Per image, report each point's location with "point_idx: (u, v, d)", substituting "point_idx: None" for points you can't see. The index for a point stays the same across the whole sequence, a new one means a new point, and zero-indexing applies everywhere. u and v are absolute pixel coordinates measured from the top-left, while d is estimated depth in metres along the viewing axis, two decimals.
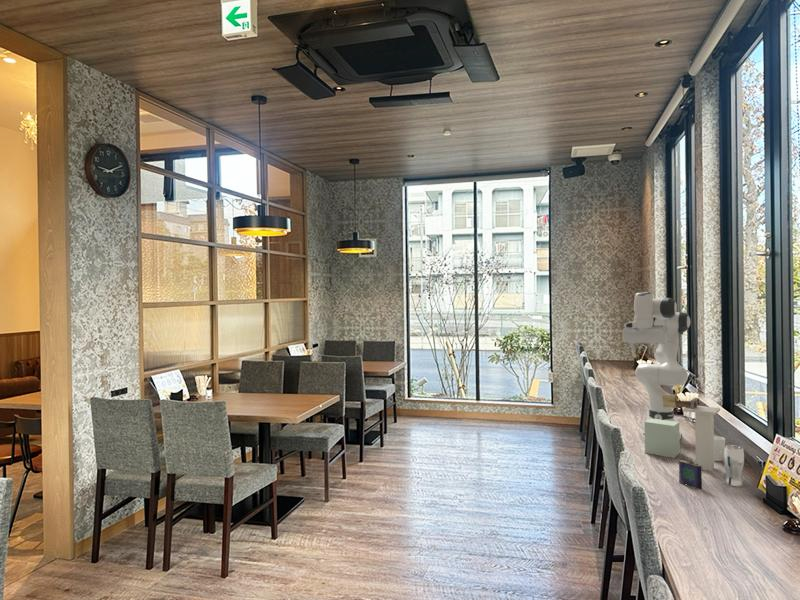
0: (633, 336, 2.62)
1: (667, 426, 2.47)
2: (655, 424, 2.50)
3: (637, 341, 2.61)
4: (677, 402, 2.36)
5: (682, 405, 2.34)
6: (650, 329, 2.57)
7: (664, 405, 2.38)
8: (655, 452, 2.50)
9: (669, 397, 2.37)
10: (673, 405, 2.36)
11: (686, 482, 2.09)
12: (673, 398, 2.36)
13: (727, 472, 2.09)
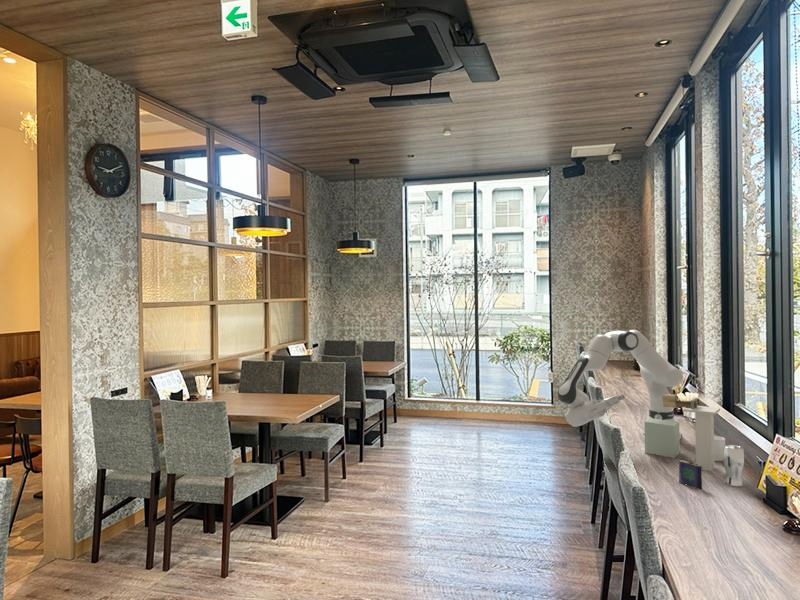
0: None
1: (667, 426, 2.47)
2: (655, 424, 2.50)
3: (614, 404, 2.53)
4: (677, 402, 2.36)
5: (682, 405, 2.34)
6: None
7: (664, 405, 2.38)
8: (655, 452, 2.50)
9: (669, 397, 2.37)
10: (673, 405, 2.36)
11: (686, 482, 2.09)
12: (673, 398, 2.36)
13: (727, 472, 2.09)
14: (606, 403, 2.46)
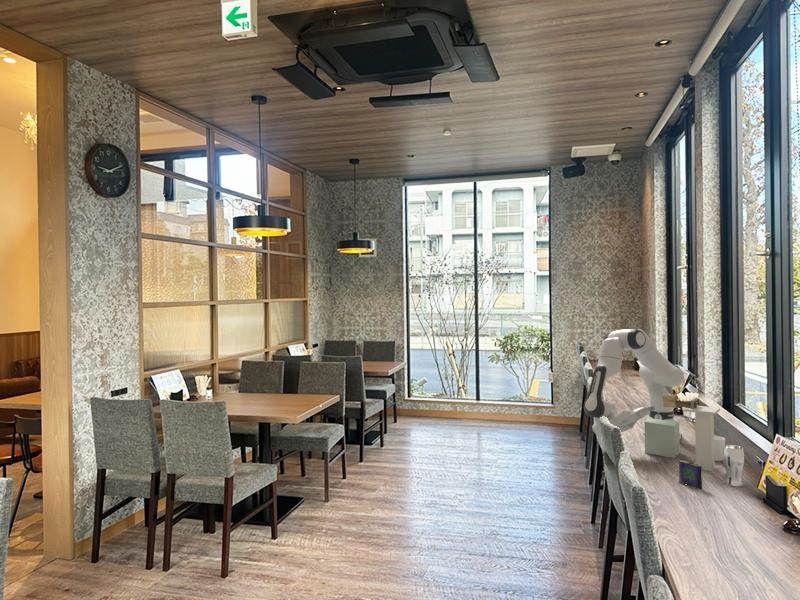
0: None
1: (667, 426, 2.47)
2: (655, 424, 2.50)
3: (644, 416, 2.48)
4: (677, 402, 2.36)
5: (682, 405, 2.34)
6: None
7: (664, 405, 2.38)
8: (655, 452, 2.50)
9: (669, 397, 2.37)
10: (673, 405, 2.36)
11: (686, 482, 2.09)
12: (673, 398, 2.36)
13: (727, 472, 2.09)
14: (637, 415, 2.41)
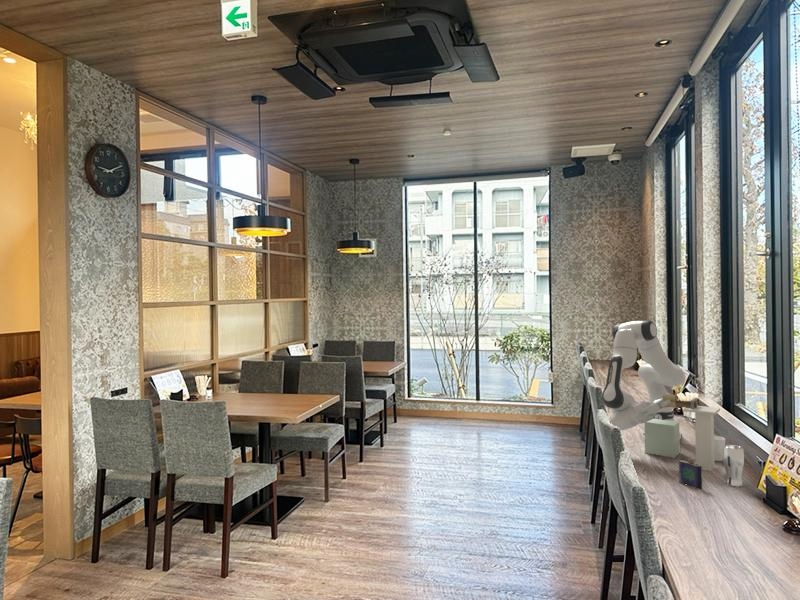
0: None
1: (667, 426, 2.47)
2: (655, 424, 2.50)
3: None
4: (677, 402, 2.36)
5: (682, 405, 2.34)
6: None
7: None
8: (655, 452, 2.50)
9: (669, 397, 2.37)
10: (673, 405, 2.36)
11: (686, 482, 2.09)
12: (673, 398, 2.36)
13: (727, 472, 2.09)
14: (657, 406, 2.35)
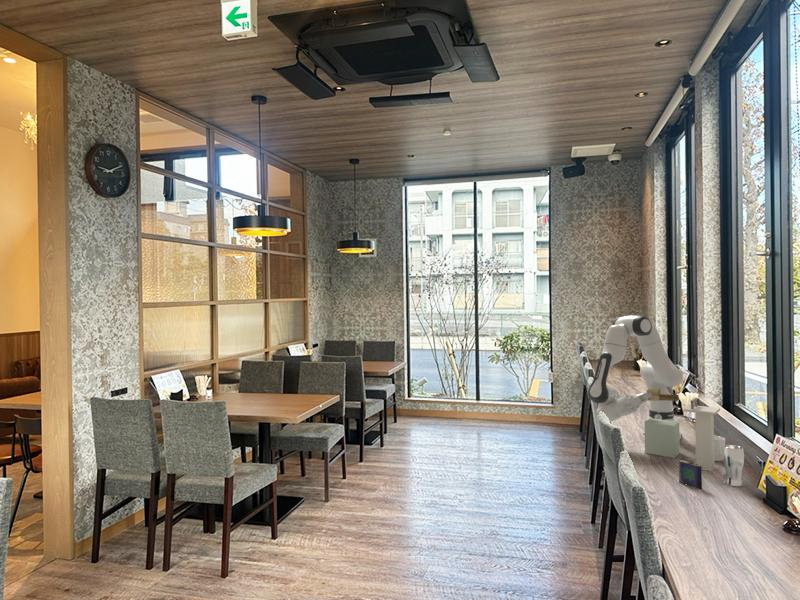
0: None
1: (667, 426, 2.47)
2: (655, 424, 2.50)
3: (647, 400, 2.59)
4: (660, 396, 2.52)
5: (665, 398, 2.50)
6: (632, 406, 2.58)
7: (648, 399, 2.54)
8: (655, 452, 2.50)
9: (653, 391, 2.53)
10: (657, 399, 2.52)
11: (686, 482, 2.09)
12: (656, 392, 2.52)
13: (727, 472, 2.09)
14: (640, 399, 2.51)
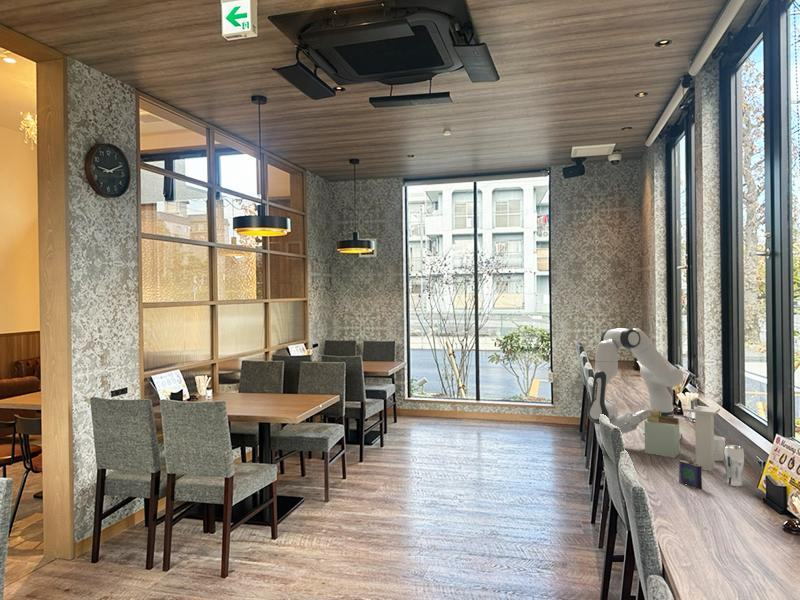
0: None
1: (667, 426, 2.47)
2: (655, 424, 2.50)
3: None
4: (660, 418, 2.52)
5: (665, 421, 2.51)
6: None
7: (648, 419, 2.55)
8: (655, 452, 2.50)
9: (653, 413, 2.53)
10: (656, 420, 2.52)
11: (686, 482, 2.09)
12: (657, 414, 2.52)
13: (727, 472, 2.09)
14: (639, 417, 2.52)
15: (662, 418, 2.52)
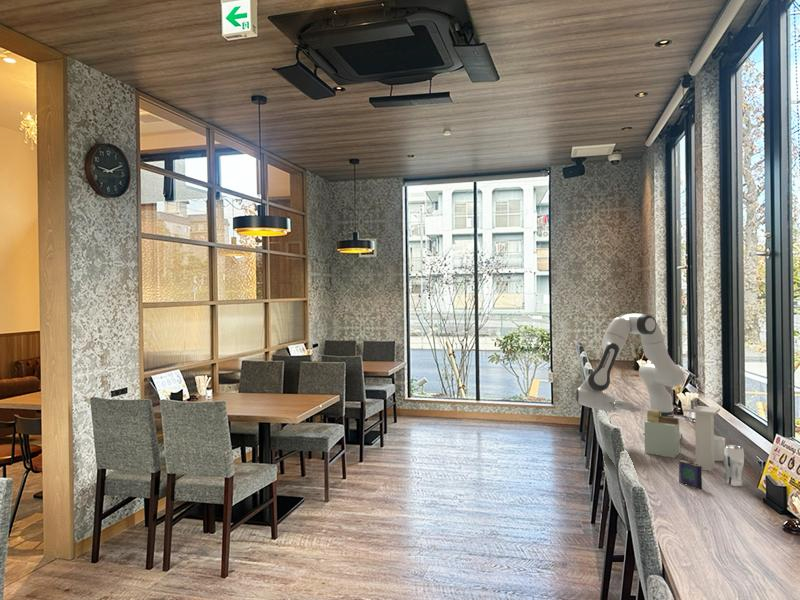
0: (618, 409, 2.69)
1: (667, 426, 2.47)
2: (655, 424, 2.50)
3: None
4: (660, 418, 2.52)
5: (665, 421, 2.51)
6: (614, 407, 2.62)
7: (648, 419, 2.55)
8: (655, 452, 2.50)
9: (653, 413, 2.53)
10: (656, 420, 2.52)
11: (686, 482, 2.09)
12: (657, 414, 2.52)
13: (727, 472, 2.09)
14: (631, 407, 2.57)
15: (662, 418, 2.52)
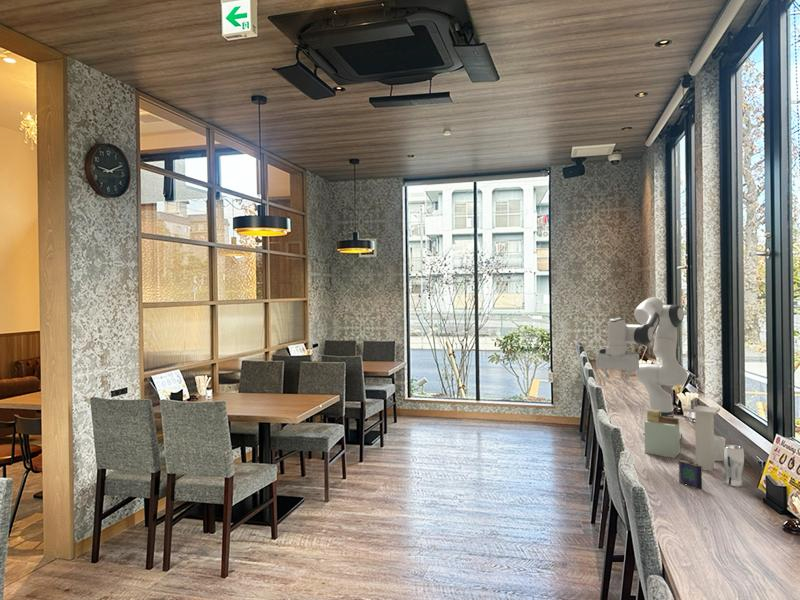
0: (607, 362, 2.61)
1: (667, 426, 2.47)
2: (655, 424, 2.50)
3: (610, 367, 2.60)
4: (660, 418, 2.52)
5: (665, 421, 2.51)
6: (623, 356, 2.56)
7: (648, 419, 2.55)
8: (655, 452, 2.50)
9: (653, 413, 2.53)
10: (656, 420, 2.52)
11: (686, 482, 2.09)
12: (657, 414, 2.52)
13: (727, 472, 2.09)
14: None
15: (662, 418, 2.52)
